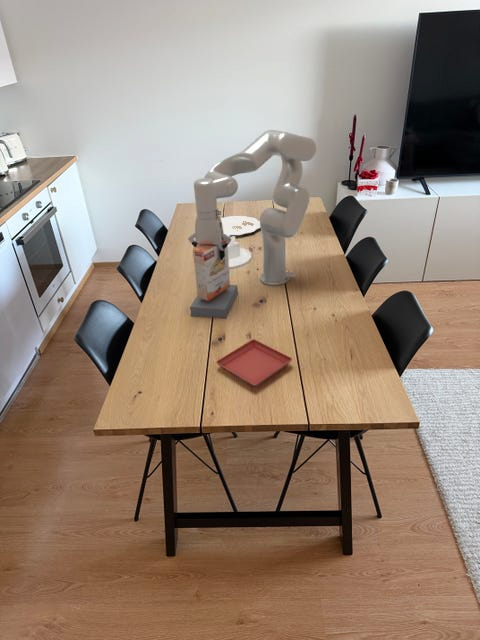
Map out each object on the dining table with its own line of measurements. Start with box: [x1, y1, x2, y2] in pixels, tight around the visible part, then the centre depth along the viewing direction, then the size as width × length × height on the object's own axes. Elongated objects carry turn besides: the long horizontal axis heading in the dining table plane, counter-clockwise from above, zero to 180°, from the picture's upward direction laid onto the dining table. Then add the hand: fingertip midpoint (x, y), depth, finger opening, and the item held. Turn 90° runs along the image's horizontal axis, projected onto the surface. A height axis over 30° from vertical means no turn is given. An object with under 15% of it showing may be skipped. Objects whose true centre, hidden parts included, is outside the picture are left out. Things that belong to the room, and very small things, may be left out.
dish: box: [225, 234, 252, 270], centre depth 225 cm, size 25×25×11 cm
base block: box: [189, 284, 239, 319], centre depth 189 cm, size 14×20×4 cm
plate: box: [220, 215, 261, 238], centre depth 261 cm, size 29×29×2 cm
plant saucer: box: [215, 338, 293, 388], centre depth 153 cm, size 18×18×3 cm
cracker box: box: [192, 239, 231, 301], centre depth 182 cm, size 14×6×21 cm, turn 143°
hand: (211, 258), depth 180 cm, fingers closed on cracker box, 7 cm apart
